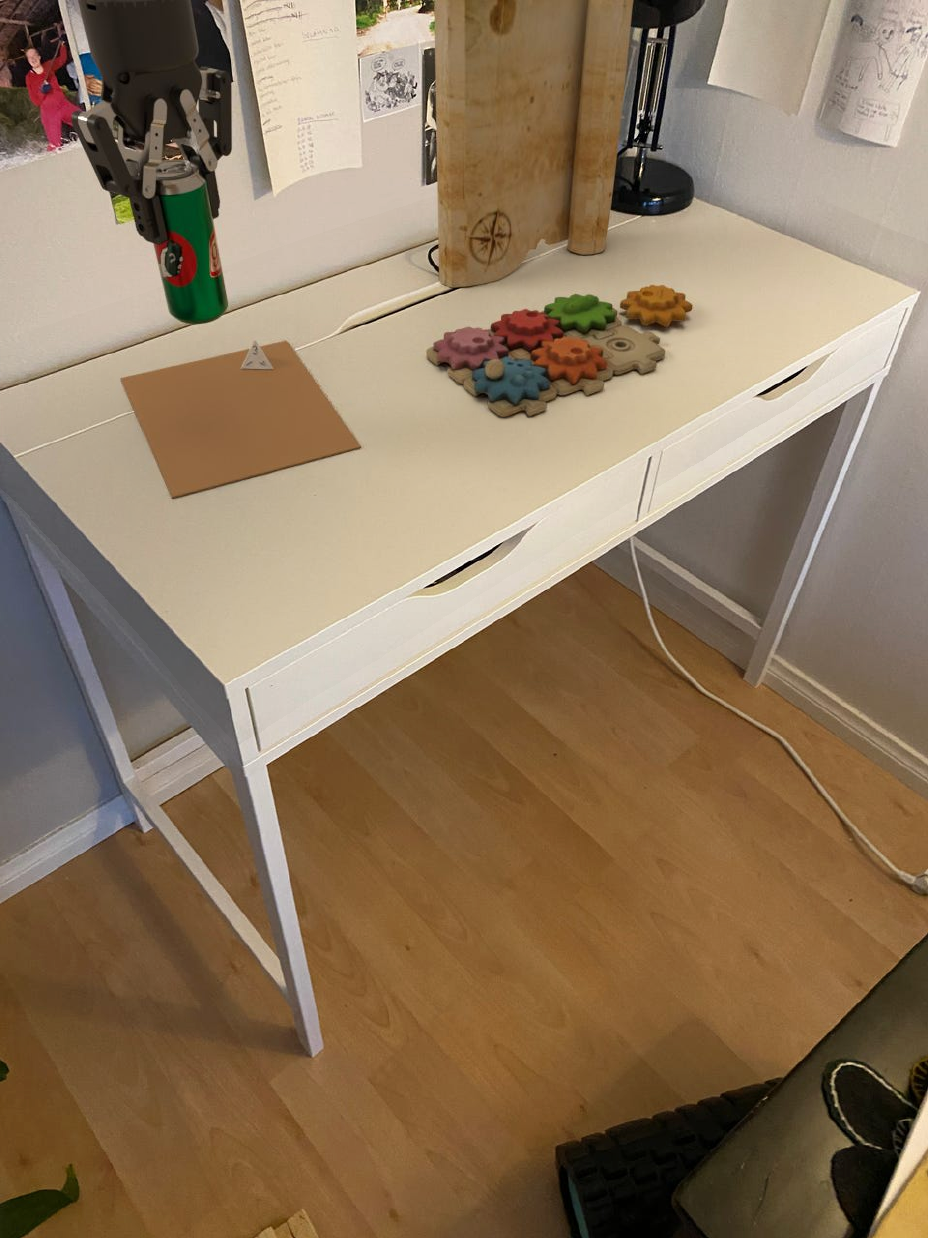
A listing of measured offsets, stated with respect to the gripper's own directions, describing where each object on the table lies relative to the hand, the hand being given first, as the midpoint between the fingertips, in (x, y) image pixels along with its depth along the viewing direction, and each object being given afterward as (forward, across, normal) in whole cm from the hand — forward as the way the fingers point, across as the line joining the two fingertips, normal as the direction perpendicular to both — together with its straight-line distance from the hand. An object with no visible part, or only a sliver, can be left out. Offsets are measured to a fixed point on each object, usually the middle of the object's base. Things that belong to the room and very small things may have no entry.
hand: (181, 227), depth 77 cm
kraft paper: (+20, -4, -2) cm, 21 cm away
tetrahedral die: (+20, -11, -6) cm, 24 cm away
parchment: (+20, -48, +4) cm, 52 cm away
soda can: (+8, 0, 0) cm, 8 cm away
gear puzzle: (+20, -34, +20) cm, 44 cm away
